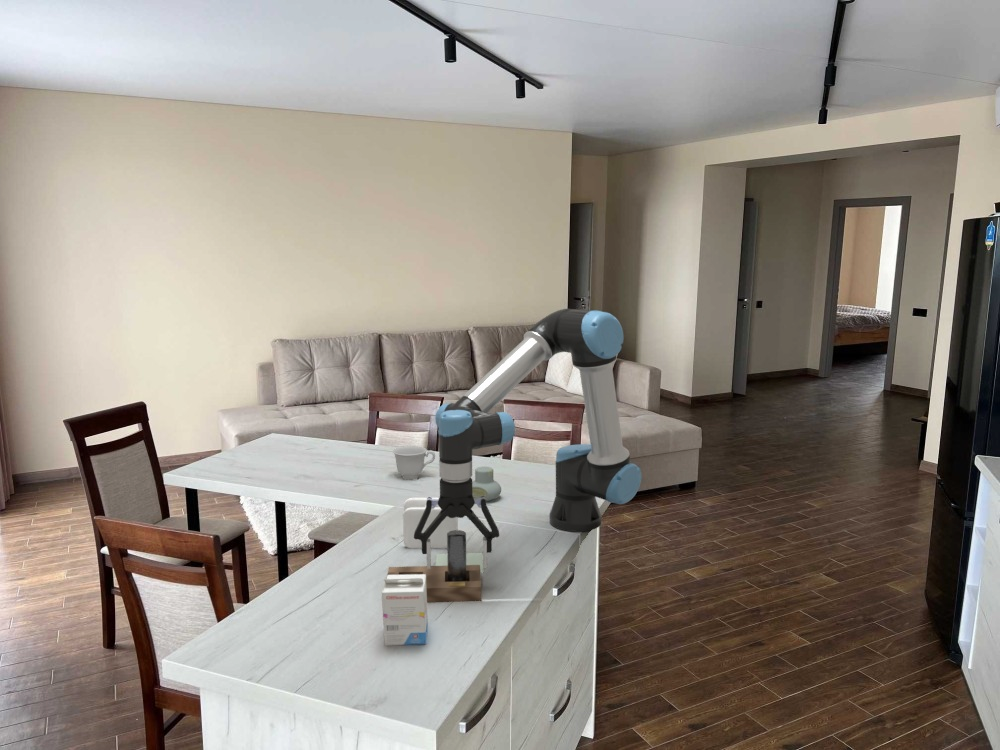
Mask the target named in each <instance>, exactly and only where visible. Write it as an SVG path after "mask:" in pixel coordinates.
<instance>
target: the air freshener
mask: <svg viewBox="0 0 1000 750" xmlns="http://www.w3.org/2000/svg"><path fill="white" fill-rule="evenodd" d="M474 474H475V475H474V480H472V495H473V498H474V499H476V498H481V497H482V496H484V497H485V498H486V502H489V501H493V500H495V499H497V498H498V497H499V496H500V494H501V493H502V486H501V485H500V483H499V482H497V481H496V480H494V468H493V467H491V466H477V467H476V468H475V472H474Z"/></svg>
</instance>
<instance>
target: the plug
mask: <svg viewBox="0 0 1000 750" xmlns="http://www.w3.org/2000/svg"><path fill="white" fill-rule="evenodd" d="M466 553H467V532H466V531H465V530H464V531H463V530H461V529H460V530H459V529H458V530H453V531H450V532H448V533H447V548H446V554H447V564H448V582H458V581H466Z"/></svg>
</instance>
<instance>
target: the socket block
mask: <svg viewBox="0 0 1000 750" xmlns="http://www.w3.org/2000/svg"><path fill="white" fill-rule="evenodd" d="M413 574H426V589H427V604H428V603H430V604H431V603H432V604H433V603H434V604H435V603H465V602H466V603H467V602H468V603H469V602H482V578H481V577H482V576H481V575H482V573H480V565H466V581H458V582H448V566H436V565H431V567H430V569H427V565H422V566H420V565H418V566H388V570H387V574H386V576H387V575H413Z"/></svg>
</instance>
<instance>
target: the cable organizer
mask: <svg viewBox="0 0 1000 750" xmlns="http://www.w3.org/2000/svg"><path fill="white" fill-rule="evenodd" d="M427 498H428V497H410V498H407V499H406V500H405V501H404V503H403V514H402V521H403V522H402V525H403V526H402V527H403V544H404V546H405V547H406V548H408V549H422V542H421V540H419V539H414V532H415V530H416V528H417V526H418V524H419V521H420V519H421V517H422V515H423V513H424V510H425V508H426V502H427ZM431 498H432V499H439V497H431ZM441 510H442V509H441V508H440V507H439V506H438V505H436V506H435V508H434V509H431V512H430V515H429V517H428V519H427V521H426V523H425V525H424V528H423V530H422V532H421V533H424V532H425V530H426V529H427V528H428V527H429V525H430V524H431V523H432V522H433V521H434V519H435V518H436V517H437V516H438V514H439V513H440V511H441ZM453 530H459V518H458V517H455V518H450V517H448V516H447V517H446V518H445V519H444V520H443V521H442V522H441V523H440V525H439V526H438V527H437V528H436V529H435V531H434V532H433V533H432V534H431V536H430V537H429V538H430V546H431V549H447V533H448V532H450V531H453Z"/></svg>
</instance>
